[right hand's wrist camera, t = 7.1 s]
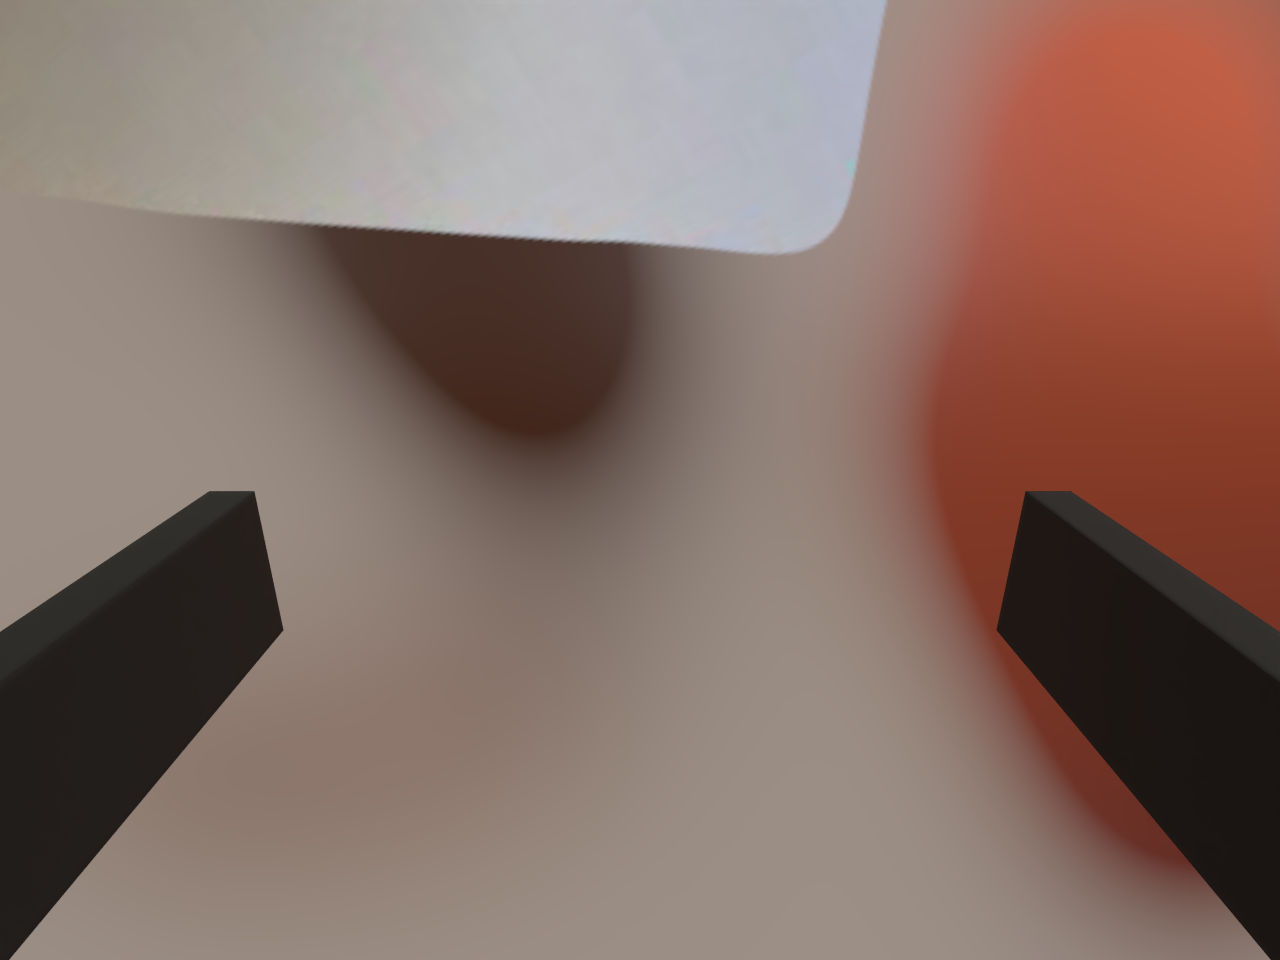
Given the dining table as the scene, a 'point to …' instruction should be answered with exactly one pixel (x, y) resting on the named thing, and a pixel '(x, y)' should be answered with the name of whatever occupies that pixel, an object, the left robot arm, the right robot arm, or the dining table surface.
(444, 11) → the dining table surface
